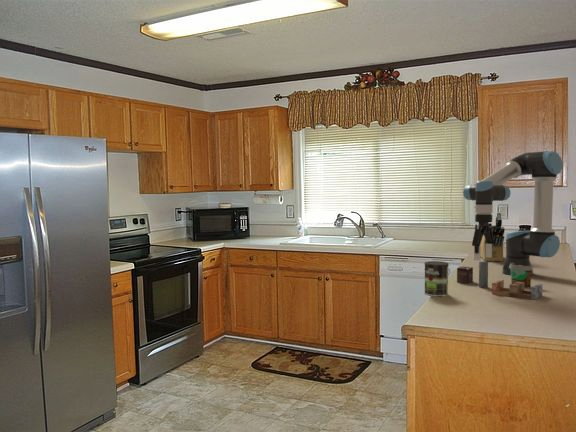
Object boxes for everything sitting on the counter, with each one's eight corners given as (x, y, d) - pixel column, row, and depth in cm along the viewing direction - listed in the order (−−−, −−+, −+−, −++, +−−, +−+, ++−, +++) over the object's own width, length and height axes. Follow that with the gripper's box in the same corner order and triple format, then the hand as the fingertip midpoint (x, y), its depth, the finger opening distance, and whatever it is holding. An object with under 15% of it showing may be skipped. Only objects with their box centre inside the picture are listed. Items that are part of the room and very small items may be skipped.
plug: (480, 285, 249) (480, 261, 249) (489, 286, 247) (489, 261, 246) (477, 287, 246) (477, 262, 246) (485, 288, 244) (486, 262, 243)
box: (461, 280, 264) (461, 266, 263) (473, 281, 260) (473, 267, 260) (456, 282, 259) (456, 267, 259) (468, 283, 255) (468, 268, 255)
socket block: (500, 290, 238) (500, 279, 238) (542, 295, 226) (542, 284, 226) (491, 294, 231) (492, 282, 230) (535, 299, 219) (535, 287, 218)
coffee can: (441, 297, 225) (441, 265, 224) (420, 294, 232) (420, 263, 232) (452, 294, 232) (452, 262, 232) (432, 290, 240) (432, 260, 239)
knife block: (486, 263, 317) (486, 212, 315) (478, 255, 351) (479, 209, 349) (505, 264, 314) (506, 212, 312) (496, 256, 348) (497, 209, 347)
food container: (503, 283, 254) (503, 263, 254) (512, 282, 256) (513, 262, 256) (522, 288, 243) (522, 266, 242) (532, 287, 245) (532, 266, 244)
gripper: (486, 212, 256) (485, 255, 257) (464, 214, 238) (464, 260, 239) (501, 212, 251) (500, 256, 252) (481, 215, 233) (480, 262, 234)
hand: (483, 258), depth 245 cm, fingers open, 13 cm apart
